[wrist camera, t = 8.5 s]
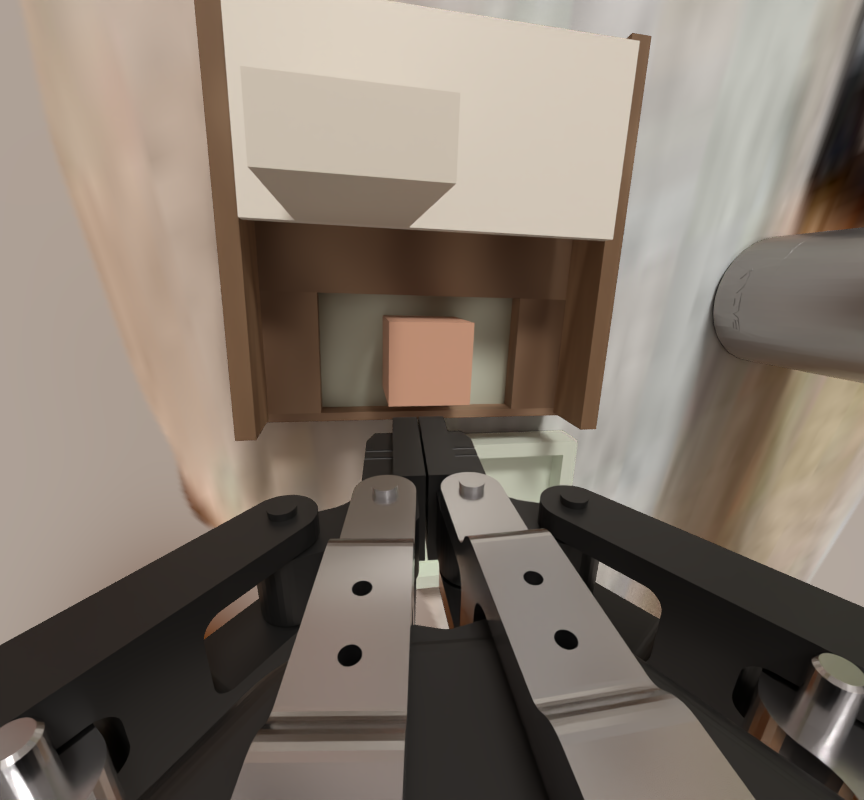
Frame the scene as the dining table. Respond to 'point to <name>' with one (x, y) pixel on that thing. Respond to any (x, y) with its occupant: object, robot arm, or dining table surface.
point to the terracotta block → (427, 360)
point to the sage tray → (517, 471)
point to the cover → (425, 119)
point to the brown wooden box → (401, 297)
